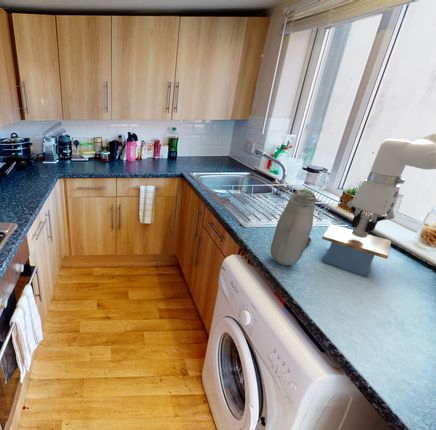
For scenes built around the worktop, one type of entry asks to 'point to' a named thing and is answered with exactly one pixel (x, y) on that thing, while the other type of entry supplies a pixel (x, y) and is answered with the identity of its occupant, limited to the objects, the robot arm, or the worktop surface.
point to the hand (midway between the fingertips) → (361, 228)
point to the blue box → (349, 258)
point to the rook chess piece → (362, 226)
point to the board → (358, 241)
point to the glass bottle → (293, 228)
